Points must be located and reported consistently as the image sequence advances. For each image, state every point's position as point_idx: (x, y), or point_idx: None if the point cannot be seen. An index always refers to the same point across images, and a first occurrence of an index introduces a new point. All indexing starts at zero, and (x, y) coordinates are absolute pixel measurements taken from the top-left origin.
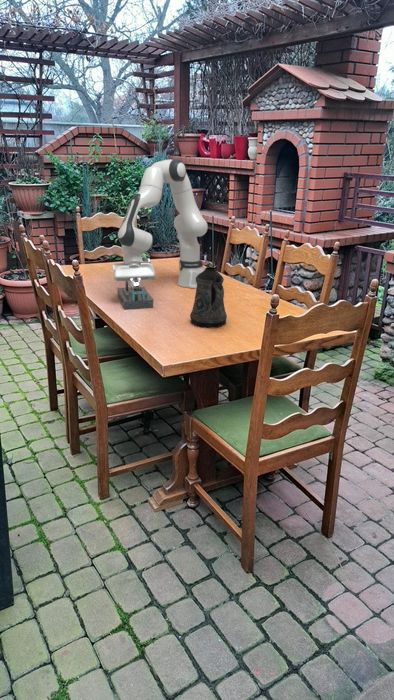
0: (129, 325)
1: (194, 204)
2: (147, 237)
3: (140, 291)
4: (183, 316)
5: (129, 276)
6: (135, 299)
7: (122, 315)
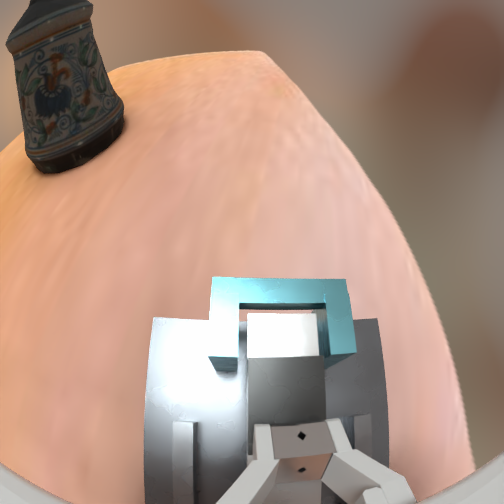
0: (322, 146)
1: None
2: None
3: (256, 321)
4: (99, 183)
5: (447, 496)
6: None
7: (359, 242)
